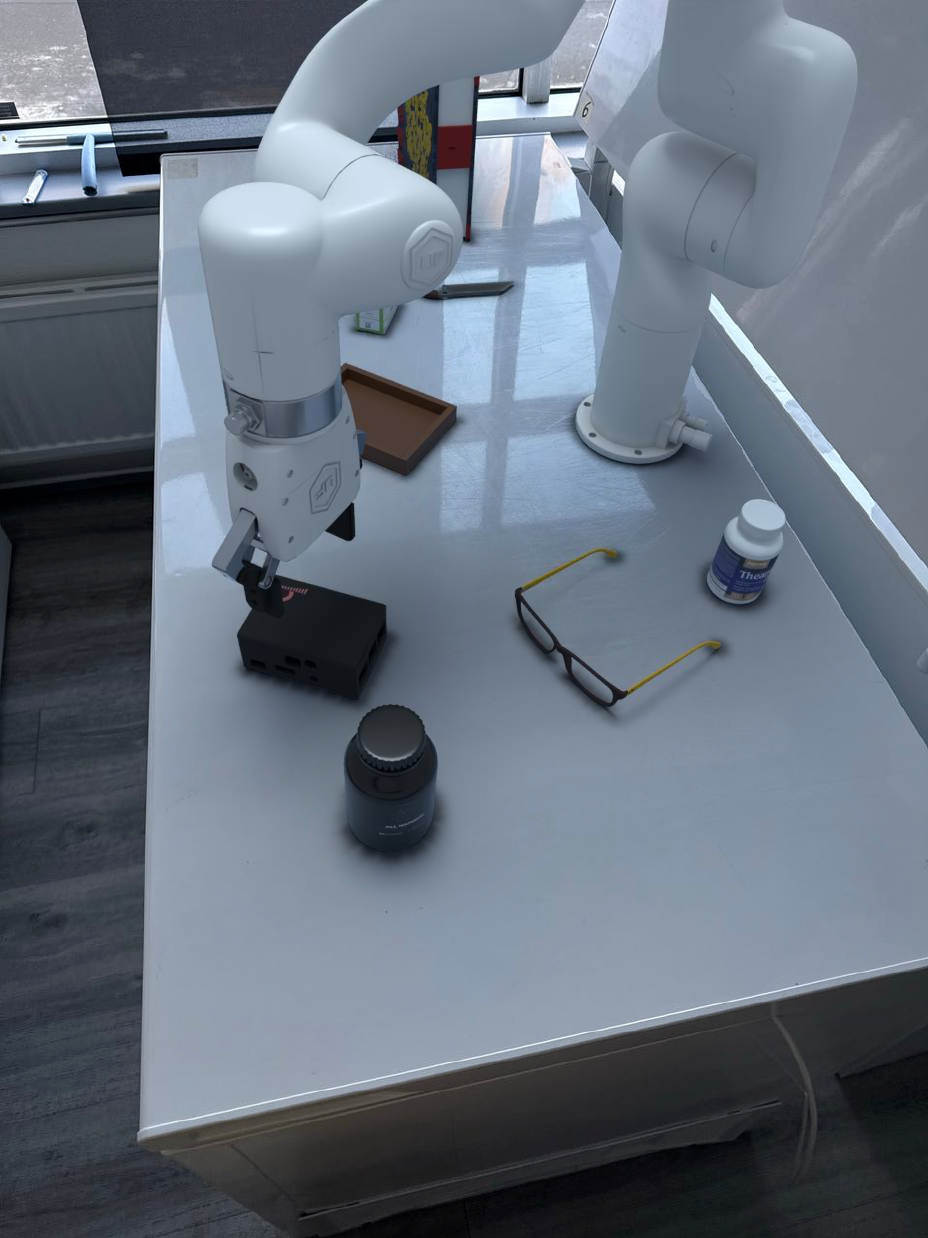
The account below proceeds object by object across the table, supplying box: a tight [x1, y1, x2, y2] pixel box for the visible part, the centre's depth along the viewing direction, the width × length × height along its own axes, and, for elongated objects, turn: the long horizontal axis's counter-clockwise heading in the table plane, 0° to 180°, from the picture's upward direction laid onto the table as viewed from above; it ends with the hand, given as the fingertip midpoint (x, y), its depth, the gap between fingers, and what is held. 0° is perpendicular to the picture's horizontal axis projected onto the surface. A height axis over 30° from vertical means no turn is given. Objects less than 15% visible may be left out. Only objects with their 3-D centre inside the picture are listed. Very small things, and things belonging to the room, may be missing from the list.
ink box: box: [354, 305, 400, 335], centre depth 109 cm, size 7×4×13 cm, turn 168°
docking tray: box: [341, 362, 458, 476], centre depth 100 cm, size 15×11×2 cm
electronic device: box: [236, 574, 388, 700], centre depth 78 cm, size 7×11×5 cm
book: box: [396, 76, 481, 243], centre depth 125 cm, size 25×7×25 cm, turn 14°
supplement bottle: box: [343, 703, 439, 852], centre depth 66 cm, size 7×7×12 cm
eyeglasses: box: [514, 547, 722, 708], centre depth 82 cm, size 14×14×4 cm
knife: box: [424, 280, 515, 299], centre depth 119 cm, size 14×4×1 cm, turn 101°
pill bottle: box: [706, 498, 787, 605], centre depth 85 cm, size 5×5×10 cm
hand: (303, 569), depth 71 cm, fingers open, 9 cm apart
